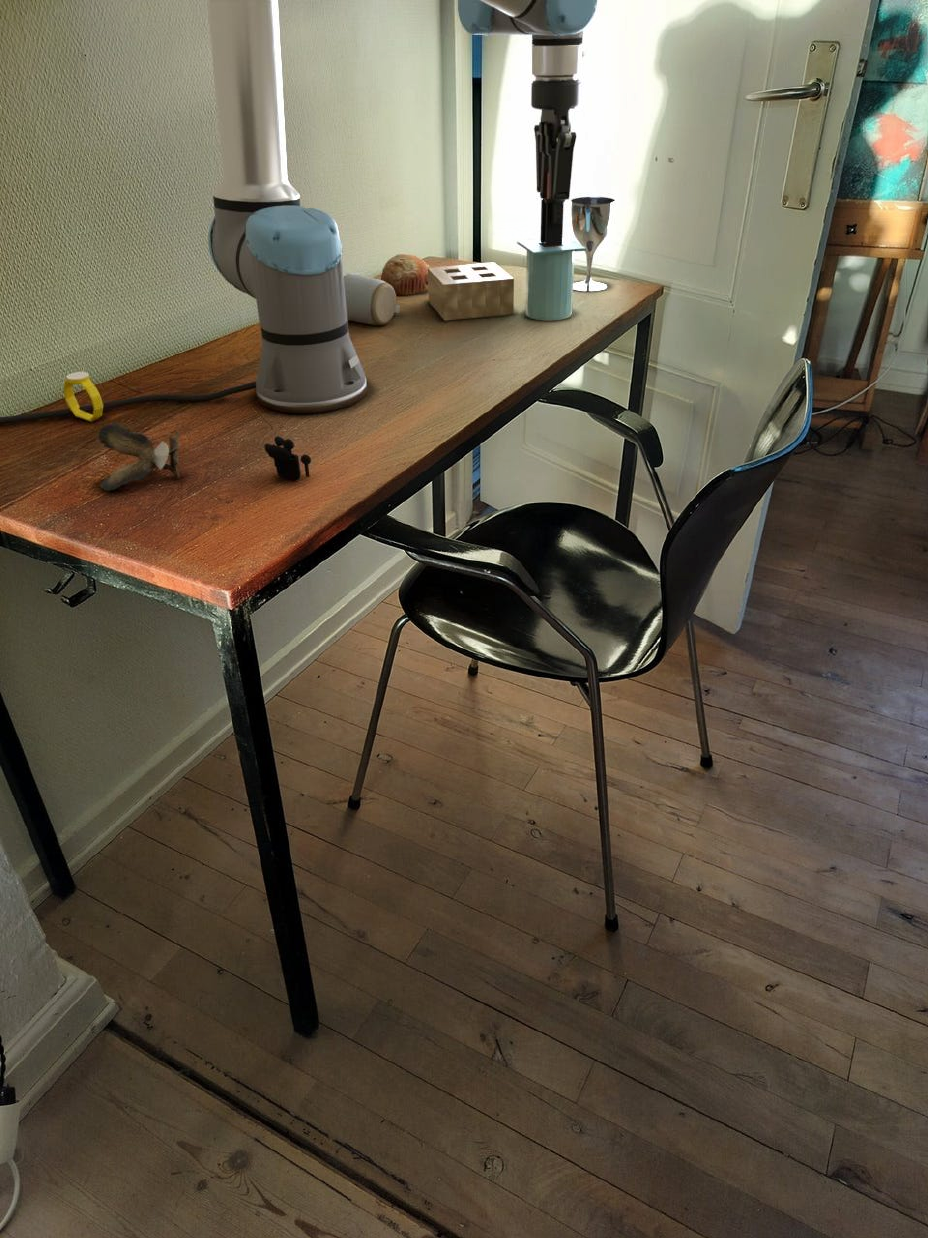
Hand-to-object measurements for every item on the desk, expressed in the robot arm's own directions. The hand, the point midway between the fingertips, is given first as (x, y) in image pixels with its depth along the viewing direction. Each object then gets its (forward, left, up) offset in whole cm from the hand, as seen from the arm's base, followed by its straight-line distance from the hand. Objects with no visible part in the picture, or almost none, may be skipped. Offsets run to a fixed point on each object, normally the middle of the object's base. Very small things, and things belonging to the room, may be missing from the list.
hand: (551, 242), depth 149 cm
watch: (-74, -27, -12) cm, 80 cm away
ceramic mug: (-30, +6, -12) cm, 33 cm away
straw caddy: (-12, +8, -12) cm, 19 cm away
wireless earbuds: (-50, -54, -12) cm, 75 cm away
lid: (0, 0, -1) cm, 1 cm away
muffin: (-20, +25, -12) cm, 34 cm away
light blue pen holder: (0, 0, -12) cm, 12 cm away
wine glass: (+13, +15, -12) cm, 23 cm away
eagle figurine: (-66, -49, -12) cm, 83 cm away
